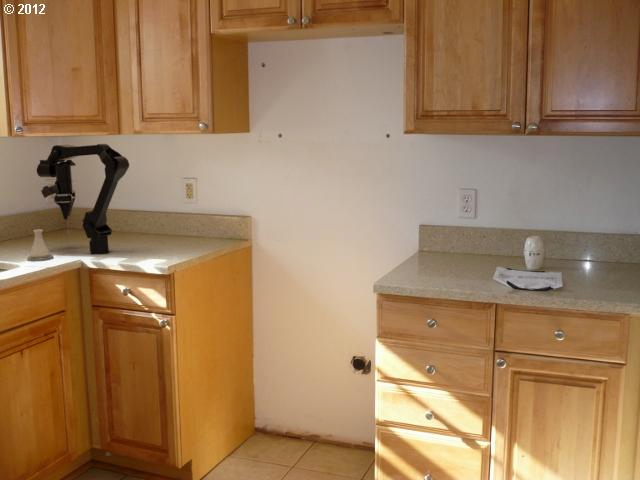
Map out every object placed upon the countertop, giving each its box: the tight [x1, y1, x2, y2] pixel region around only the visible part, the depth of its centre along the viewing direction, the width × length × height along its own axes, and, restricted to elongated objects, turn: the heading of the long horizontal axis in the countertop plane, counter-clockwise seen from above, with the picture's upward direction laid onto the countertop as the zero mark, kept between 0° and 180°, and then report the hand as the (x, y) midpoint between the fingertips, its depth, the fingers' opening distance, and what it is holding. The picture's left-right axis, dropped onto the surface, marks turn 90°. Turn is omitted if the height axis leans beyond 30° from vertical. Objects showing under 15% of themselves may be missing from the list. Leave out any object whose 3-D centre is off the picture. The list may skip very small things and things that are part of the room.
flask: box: [29, 229, 51, 258], centre depth 262 cm, size 7×7×10 cm
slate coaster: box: [26, 254, 54, 262], centre depth 263 cm, size 9×9×1 cm
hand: (66, 217), depth 276 cm, fingers open, 9 cm apart
